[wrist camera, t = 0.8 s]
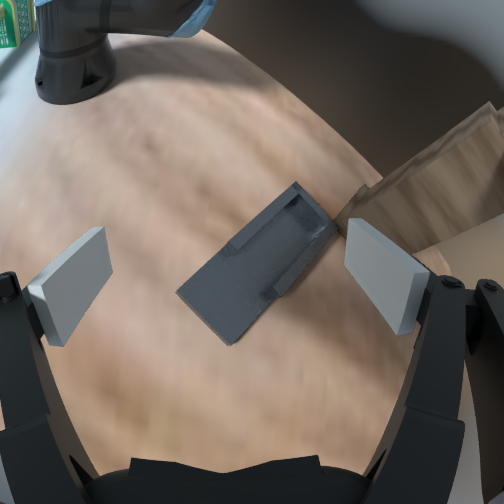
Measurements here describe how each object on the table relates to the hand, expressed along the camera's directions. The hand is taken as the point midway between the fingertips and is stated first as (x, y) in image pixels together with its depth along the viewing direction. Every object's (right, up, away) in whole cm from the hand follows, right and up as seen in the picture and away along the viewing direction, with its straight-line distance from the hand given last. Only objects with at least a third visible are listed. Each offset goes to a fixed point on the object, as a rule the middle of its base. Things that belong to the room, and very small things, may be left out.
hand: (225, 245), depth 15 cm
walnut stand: (+22, +4, +34) cm, 41 cm away
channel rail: (+2, -2, +25) cm, 25 cm away
